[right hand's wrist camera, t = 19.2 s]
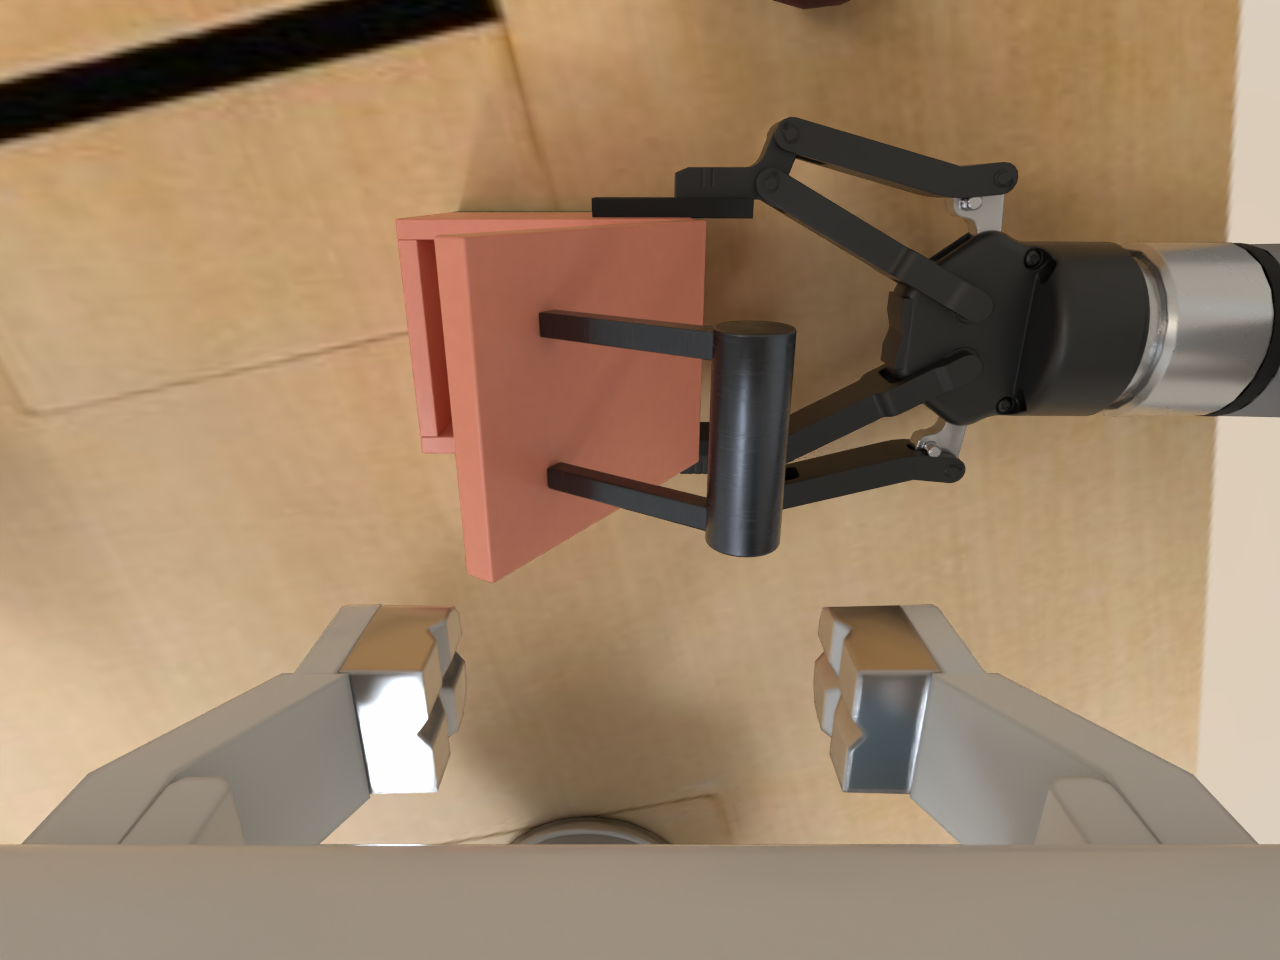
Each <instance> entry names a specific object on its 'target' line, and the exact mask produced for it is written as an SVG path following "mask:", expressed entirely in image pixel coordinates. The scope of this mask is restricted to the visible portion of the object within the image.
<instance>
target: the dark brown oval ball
mask: <svg viewBox="0 0 1280 960" xmlns="http://www.w3.org/2000/svg"><path fill="white" fill-rule="evenodd" d="M774 1H777V2H781V3H784V4H788V5H791V6H795V7H798V8H801V9H808V8H817V7H825V6H833V5H841V4H843V3H845V2H847V1H850V0H774Z"/></svg>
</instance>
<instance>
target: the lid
mask: <svg viewBox="0 0 1280 960" xmlns="http://www.w3.org/2000/svg"><path fill="white" fill-rule="evenodd" d="M434 243H435V253H436V263H437V273H438V283H439V293H440V303H441V313H442V324H443V334H444V344H445V354H446V364H447V374H448V384H449V394H450V404H451V415H452V425H453V435H454V445H455V455H456V465H457V475H458V485H459V496H460V506H461V516H462V526H463V536H464V546H465V556H466V566H467V573H468V574H469V575H472V576H474V577H477V578H480V579H482V580H485V581H488V582H490V583H494V582H496V581H498V580H499V579H501V578H503V577H504V576H506V575H508V574H509V573H511V572H513V571H514V570H516V569H518V568H519V567H521V566H523V565H525V564H526V563H528V562H530V561H531V560H533V559H535V558H536V557H538V556H540V555H541V554H543V553H545V552H547V551H548V550H550V549H552V548H553V547H555V546H557V545H558V544H560V543H562V542H563V541H565V540H567V539H569V538H570V537H572V536H574V535H575V534H577V533H579V532H580V531H582V530H584V529H585V528H587V527H589V526H590V525H592V524H594V523H596V522H597V521H599V520H601V519H602V518H604V517H606V516H607V515H609V514H611V513H612V512H614V511H616V510H618V509H619V508H623V509H627V510H630V511H634V512H638V513H642V514H645V515H649V516H653V517H656V518H660V519H664V520H667V521H671V522H675V523H678V524H682V525H686V526H689V527H693V528H697V529H700V530H704V531H706V534H705V539H706V542H707V544H708V545H709V546H710V547H711V548H713V549H714V550H716V551H718V552H720V553H723V554H726V555H731V556H737V557H757V556H763V555H766V554H769V553H771V552H773V551H774V550H776V549H777V547H778V546H779V543H780V532H781V519H782V507H783V494H784V481H785V469H786V456H787V443H788V431H789V418H790V406H791V393H792V380H793V368H794V355H795V342H796V329H795V328H794V327H793V326H790V325H787V324H783V323H777V322H768V321H732V322H725V323H720V324H717V325H715V326H714V327H712V326H703V310H704V279H705V248H706V221H705V220H669V221H653V222H637V223H622V224H606V225H590V226H574V227H558V228H542V229H527V230H511V231H495V232H479V233H463V234H447V235H437V236H435V238H434ZM702 359H706V360H712V373H711V400H710V427H709V454H708V480H707V498H706V497H702V496H698V495H694V494H690V493H686V492H681V491H677V490H673V489H669V488H665V487H661V486H658V485H660V484H661V483H663V482H665V481H667V480H668V479H670V478H672V477H673V476H675V475H677V474H678V473H680V472H682V471H683V470H685V469H687V468H689V467H690V466H692V465H694V464H695V463H697V462H698V461H699V435H700V404H701V373H702Z"/></svg>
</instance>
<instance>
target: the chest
mask: <svg viewBox="0 0 1280 960" xmlns="http://www.w3.org/2000/svg"><path fill="white" fill-rule="evenodd" d="M669 220H693V219H692V218H690V217H592V212H543V211H457V212H452V213H443V214H434V215H426V216H417V217H409V218H400V219H396V220H395V221H396V230H397V238H398V239H399V240H398V247H399V256H400V264H401V273H402V282H403V290H404V299H405V307H406V316H407V324H408V333H409V342H410V350H411V359H412V367H413V376H414V385H415V393H416V402H417V410H418V419H419V427H420V436H421V444H422V452H423V453H455V445H454V435H453V425H452V415H451V404H450V394H449V384H448V374H447V364H446V354H445V344H444V334H443V324H442V313H441V303H440V293H439V283H438V273H437V263H436V253H435V243H434V238H435V236H437V235H447V234H463V233H479V232H495V231H511V230H527V229H542V228H558V227H574V226H590V225H606V224H622V223H637V222H653V221H669Z"/></svg>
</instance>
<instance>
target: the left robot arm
mask: <svg viewBox="0 0 1280 960" xmlns="http://www.w3.org/2000/svg"><path fill="white" fill-rule="evenodd" d="M795 159H799V160H802V161H806V162H809V163H812V164H816V165H819V166H823V167H826V168H829V169H833V170H836V171H840V172H843V173H847V174H850V175H853V176H857V177H860V178H864V179H867V180H871V181H874V182H877V183H881V184H884V185H888V186H891V187H894V188H898V189H901V190H905V191H908V192H912V193H915V194H919V195H923V196H929V197H943V198H945V208H946V210H947V212H948V213H949V214H950V215H952V216H955V217H960V218H962V219H964V220H965V221H966V222H967V224H968V228H969V232H968V233H966V234H965V235H963V236H962V237H960V238H959V239H957V240H956V241H955V242H953V243H952V244H950V245H949V246H947V247H946V248H944V249H943V250H941V251H940V252H938V253H937V254H935V255H934V256H932V257H931V258H929V259H927V258H926V257H924V256H923V255H921V254H919V253H917V252H916V251H914V250H912V249H909V248H907V247H906V246H904V245H902V244H900V243H899V242H897V241H896V240H894V239H892V238H891V237H889V236H887V235H886V234H884V233H882V232H881V231H879V230H878V229H876V228H874V227H873V226H871V225H869V224H868V223H866V222H864V221H863V220H861V219H860V218H858V217H856V216H855V215H853V214H851V213H850V212H848V211H846V210H845V209H843V208H841V207H840V206H838V205H837V204H835V203H833V202H832V201H830V200H828V199H827V198H825V197H823V196H822V195H820V194H819V193H817V192H815V191H814V190H812V189H810V188H809V187H807V186H805V185H804V184H802V183H801V182H799V181H797V180H796V179H794V178H792V177H791V176H789V173H790V170H791V168H792V165H793V163H794V160H795ZM1017 180H1018V171H1017V169H1016V167H1015V166H1014V165H1012V164H1011V163H1006V162H1001V163H986V164H974V165H964V166H958V165H954V164H951V163H948V162H944V161H941V160H938V159H934V158H931V157H927V156H924V155H921V154H917V153H914V152H911V151H907V150H904V149H901V148H897V147H894V146H890V145H887V144H884V143H880V142H877V141H874V140H870V139H867V138H863V137H860V136H857V135H853V134H850V133H847V132H843V131H840V130H837V129H833V128H830V127H826V126H823V125H820V124H816V123H813V122H810V121H806V120H803V119H800V118H796V117H789V118H786V119H784V120H782V121H780V122H778V123H776V124H774V125H773V126H772V127H771V128H770V130H769V132H768V134H767V140H766V142H765V145H764V147H763V150H762V152H761V155H760V157H759V159H758V160H757V161H756V162H755V163H754V164H753V165H752V166H749V167H688V168H686V169H683V170H681V171H679V172H676V173H675V187H674V197H595V198H592V217H690V218H753V204H754V199H759V200H761V201H762V202H764V203H766V204H767V205H769V206H771V207H772V208H774V209H776V210H777V211H779V212H781V213H782V214H784V215H786V216H788V217H789V218H791V219H793V220H794V221H796V222H798V223H799V224H801V225H803V226H804V227H806V228H808V229H809V230H811V231H813V232H814V233H816V234H818V235H819V236H821V237H823V238H824V239H826V240H828V241H829V242H831V243H833V244H834V245H836V246H838V247H839V248H841V249H843V250H844V251H846V252H848V253H849V254H851V255H853V256H854V257H856V258H858V259H859V260H861V261H863V262H864V263H866V264H868V265H869V266H871V267H872V268H874V269H875V270H877V271H878V272H880V273H881V274H883V275H885V276H886V277H888V278H890V279H891V280H893V281H895V282H896V283H898V284H897V286H896V287H895V289H894V292H889V298H888V306H887V311H888V318H889V329H888V332H887V334H886V337H885V339H884V342H883V347H882V355H881V360H882V361H883V362H884V363H885V364H884V365H882V366H880V367H878V368H876V369H874V370H872V371H870V372H868V373H866V374H864V375H863V376H862V377H861V379H860V380H859V381H857V382H855V383H853V384H851V385H849V386H847V387H845V388H843V389H841V390H839V391H837V392H835V393H833V394H831V395H829V396H827V397H825V398H823V399H821V400H819V401H817V402H815V403H813V404H811V405H809V406H807V407H805V408H803V409H801V410H799V411H797V412H795V413H793V414H791V415H790V418H789V431H788V443H787V456H786V463H789V462H791V461H793V460H795V459H797V458H799V457H801V456H803V455H805V454H807V453H809V452H811V451H813V450H816V449H818V448H820V447H822V446H824V445H826V444H828V443H830V442H832V441H834V440H836V439H838V438H841V437H843V436H845V435H847V434H849V433H851V432H853V431H855V430H857V429H859V428H861V427H863V426H866V425H868V424H870V423H872V422H874V421H876V420H878V419H880V418H883V417H892V416H896V415H898V414H901V413H903V412H905V411H907V410H909V409H911V408H913V407H915V406H917V405H920V404H922V403H923V404H924V405H925V406H927V407H928V408H929V409H931V410H932V411H933V412H934V413H936V414H937V415H938V416H939V418H938V420H937V422H936V423H935V424H934V425H933V426H932V427H930V428H927V429H921V430H918V431H915V432H914V433H913V434H912V437H911V439H898V440H890V441H884V442H880V443H876V444H871V445H867V446H863V447H859V448H854V449H850V450H846V451H842V452H837V453H833V454H829V455H825V456H820V457H816V458H812V459H807V460H803V461H799V462H795V463H790V464H786V469H785V481H784V494H783V507H782V509H787V508H791V507H795V506H800V505H804V504H809V503H813V502H817V501H822V500H826V499H831V498H835V497H839V496H844V495H848V494H852V493H857V492H861V491H866V490H870V489H874V488H879V487H883V486H888V485H892V484H896V483H901V482H905V481H910V480H923V481H934V482H944V483H954V482H956V481H958V480H960V479H961V478H962V477H963V475H964V473H965V465H964V463H963V462H962V461H961V460H960V459H958V455H959V452H960V448H961V444H962V441H963V437H964V433H965V430H966V426H967V425H970V424H973V423H975V422H977V421H979V420H981V419H983V418H986V417H989V416H994V415H1010V416H1089V415H1093V414H1096V413H1099V414H1101V415H1105V416H1113V417H1119V416H1252V417H1280V244H1243V243H1209V242H1133V243H1125V244H1123V245H1121V246H1119V245H1117V244H1115V243H1111V242H1019V241H1017V240H1015V239H1013V238H1011V237H1010V236H1008V235H1007V234H1005V233H1003V232H1001V228H1002V216H1003V205H1004V194H1006V193H1008V192H1009V191H1011V190H1012V189H1013V188H1014V186H1015V185H1016V183H1017ZM709 427H710V422H700V435H699V461H698V462H697V463H695V464H694V465H692V466H690V467H689V468H687V469H685V470H683V471H682V472H680V473H681V474H693V473H694V474H701V473H703V474H708V454H709ZM512 844H668V843H667V842H666V841H664V840H663V839H661V838H660V837H658V836H657V835H655V834H653V833H651V832H650V831H647V830H645V829H643V828H641V827H638V826H636V825H633V824H630V823H626V822H623V821H619V820H614V819H607V818H597V817H579V818H569V819H563V820H558V821H554V822H550V823H547V824H544V825H542V826H539V827H537V828H535V829H532V830H530V831H529V832H527V833H525V834H523V835H522V836H521V837H519V838H518V839H516V840H515V841H514V842H513V843H512Z"/></svg>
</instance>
